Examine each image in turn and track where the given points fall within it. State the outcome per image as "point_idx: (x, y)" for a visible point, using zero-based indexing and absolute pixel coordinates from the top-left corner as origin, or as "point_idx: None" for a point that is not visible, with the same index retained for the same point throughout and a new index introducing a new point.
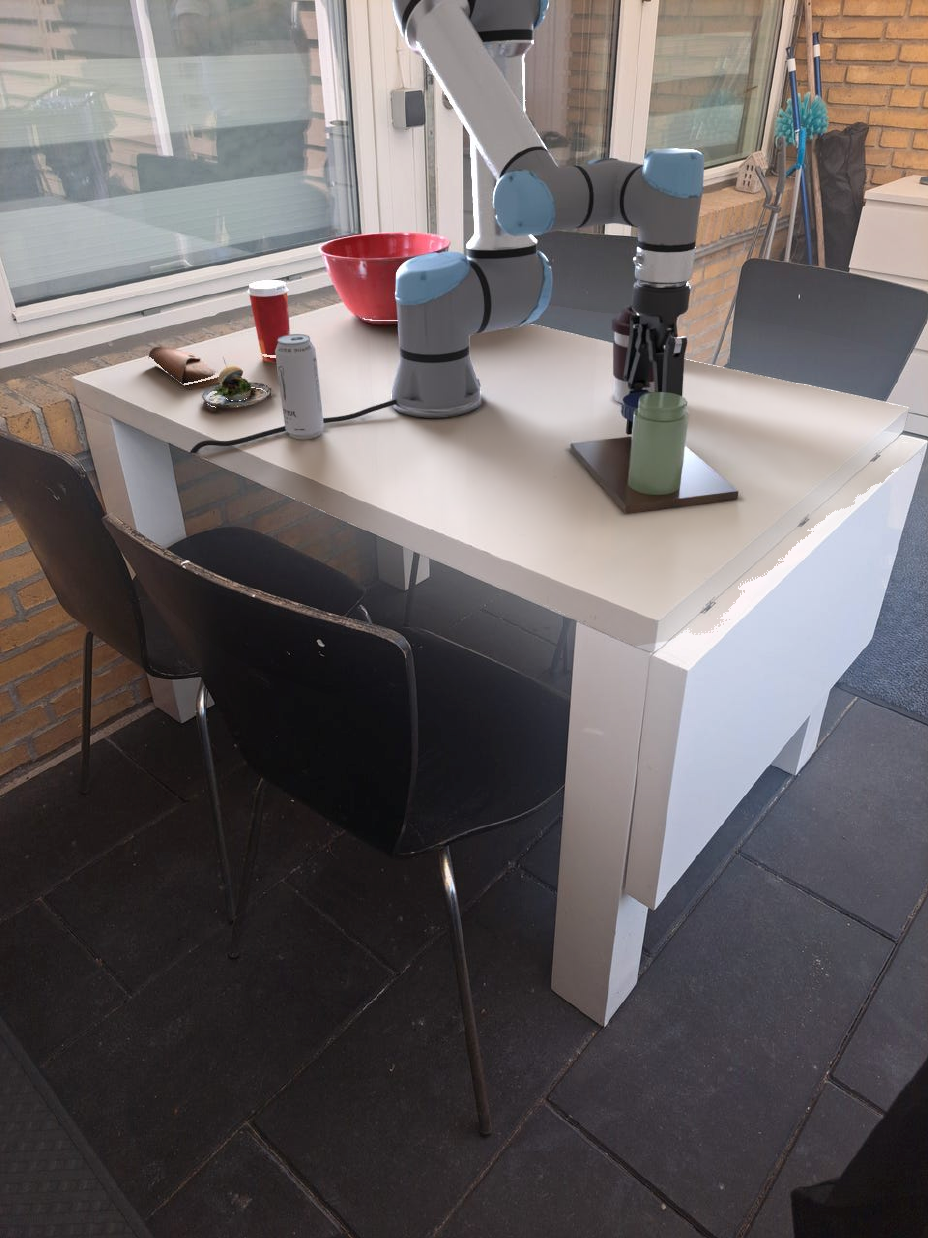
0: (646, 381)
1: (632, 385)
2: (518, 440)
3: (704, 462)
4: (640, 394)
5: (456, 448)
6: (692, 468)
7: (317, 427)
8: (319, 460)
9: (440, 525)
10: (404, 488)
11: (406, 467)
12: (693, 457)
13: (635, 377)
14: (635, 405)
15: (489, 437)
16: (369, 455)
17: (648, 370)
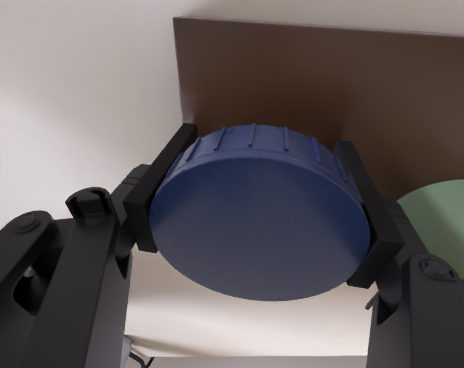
0: (112, 240)
1: (131, 265)
2: (147, 256)
3: (457, 39)
4: (179, 241)
5: (163, 298)
6: (456, 105)
7: (124, 347)
8: (172, 347)
9: (326, 352)
10: (243, 341)
11: (200, 329)
12: (396, 56)
13: (126, 304)
14: (275, 291)
15: (134, 272)
16: (168, 333)
17: (101, 314)
